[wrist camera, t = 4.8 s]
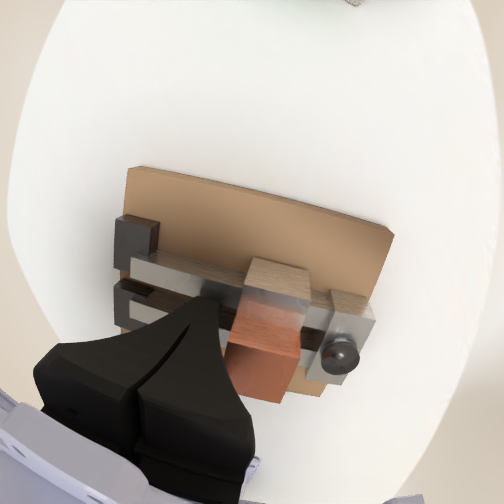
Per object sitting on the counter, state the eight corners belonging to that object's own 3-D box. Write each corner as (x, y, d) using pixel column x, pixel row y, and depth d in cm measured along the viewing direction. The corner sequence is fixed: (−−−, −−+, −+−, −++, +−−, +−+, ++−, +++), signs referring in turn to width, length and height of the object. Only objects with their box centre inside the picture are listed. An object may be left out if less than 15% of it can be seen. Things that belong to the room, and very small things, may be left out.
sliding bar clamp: (330, 371, 14) (333, 407, 12) (123, 315, 15) (99, 341, 12) (374, 277, 12) (390, 306, 10) (126, 213, 13) (95, 229, 10)
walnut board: (318, 382, 16) (319, 396, 15) (130, 331, 17) (121, 341, 16) (386, 227, 13) (394, 234, 12) (140, 166, 13) (128, 168, 12)
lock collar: (277, 357, 14) (270, 422, 10) (231, 346, 14) (211, 408, 10) (308, 270, 12) (313, 327, 8) (253, 256, 12) (235, 308, 9)
